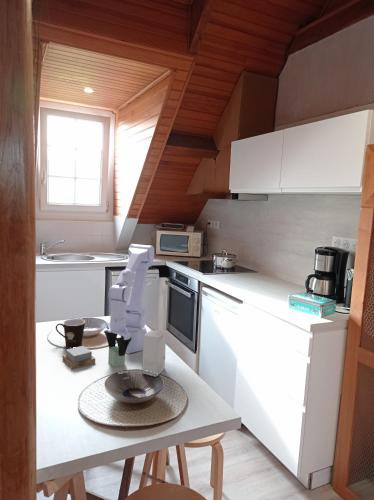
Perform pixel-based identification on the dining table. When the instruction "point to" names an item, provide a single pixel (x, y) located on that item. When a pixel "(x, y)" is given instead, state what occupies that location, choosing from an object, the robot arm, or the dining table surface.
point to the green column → (115, 357)
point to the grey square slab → (78, 354)
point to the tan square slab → (79, 363)
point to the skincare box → (154, 351)
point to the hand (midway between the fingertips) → (116, 351)
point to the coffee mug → (73, 332)
